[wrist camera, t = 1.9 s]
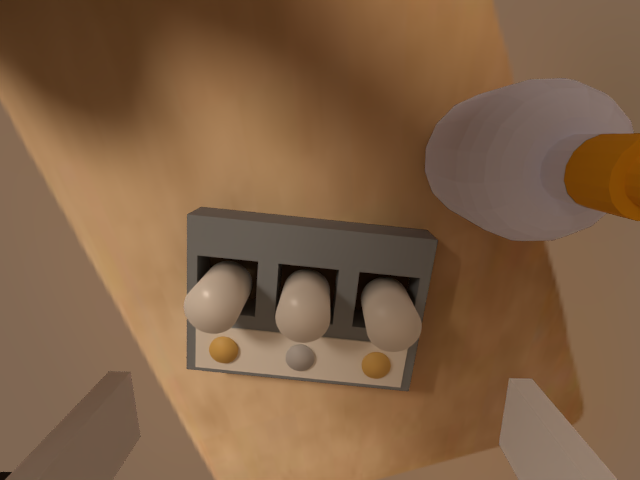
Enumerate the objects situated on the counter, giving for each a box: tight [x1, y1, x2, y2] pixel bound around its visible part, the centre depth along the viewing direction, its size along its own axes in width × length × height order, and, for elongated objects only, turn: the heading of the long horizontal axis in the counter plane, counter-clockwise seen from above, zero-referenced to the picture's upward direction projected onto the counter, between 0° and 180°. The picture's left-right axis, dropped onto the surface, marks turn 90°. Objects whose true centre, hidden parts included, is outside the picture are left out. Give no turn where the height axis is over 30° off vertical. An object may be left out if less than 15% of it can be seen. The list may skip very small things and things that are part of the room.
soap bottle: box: [425, 78, 640, 241], centre depth 25 cm, size 10×10×24 cm
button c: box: [361, 277, 422, 352], centre depth 35 cm, size 5×5×6 cm
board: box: [187, 207, 438, 391], centre depth 39 cm, size 24×17×4 cm
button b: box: [275, 269, 330, 343], centre depth 35 cm, size 5×5×6 cm
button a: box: [184, 261, 253, 334], centre depth 35 cm, size 5×5×6 cm
